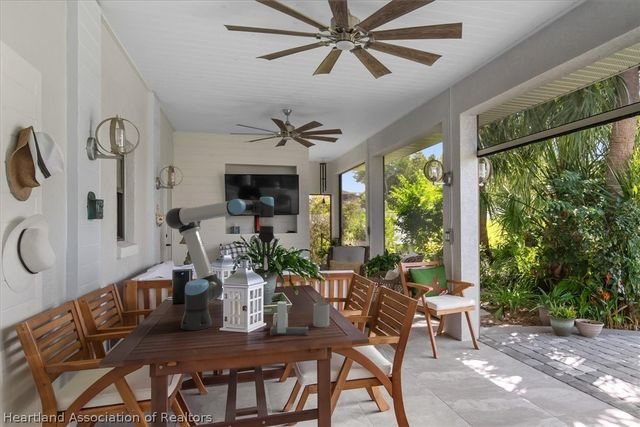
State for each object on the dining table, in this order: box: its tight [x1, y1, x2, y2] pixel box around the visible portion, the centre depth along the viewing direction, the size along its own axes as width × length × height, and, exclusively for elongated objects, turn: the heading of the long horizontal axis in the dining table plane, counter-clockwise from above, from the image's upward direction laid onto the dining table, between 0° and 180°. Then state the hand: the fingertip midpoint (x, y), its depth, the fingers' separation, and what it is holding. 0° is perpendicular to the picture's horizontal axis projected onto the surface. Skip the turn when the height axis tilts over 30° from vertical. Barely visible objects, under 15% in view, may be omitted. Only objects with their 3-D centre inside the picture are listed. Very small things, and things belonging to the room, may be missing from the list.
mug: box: [312, 302, 330, 328], centre depth 204 cm, size 12×8×11 cm
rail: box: [269, 325, 309, 336], centre depth 186 cm, size 18×4×3 cm, turn 92°
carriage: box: [276, 301, 287, 333], centre depth 186 cm, size 4×4×14 cm
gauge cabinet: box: [272, 312, 289, 327], centre depth 195 cm, size 7×6×7 cm
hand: (265, 269), depth 204 cm, fingers closed
